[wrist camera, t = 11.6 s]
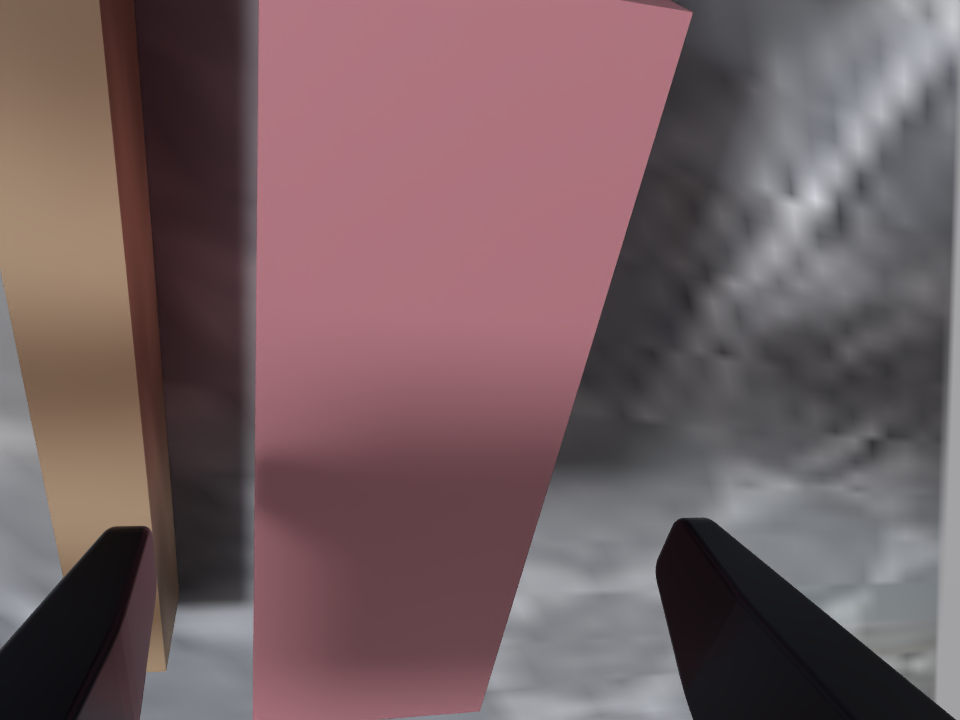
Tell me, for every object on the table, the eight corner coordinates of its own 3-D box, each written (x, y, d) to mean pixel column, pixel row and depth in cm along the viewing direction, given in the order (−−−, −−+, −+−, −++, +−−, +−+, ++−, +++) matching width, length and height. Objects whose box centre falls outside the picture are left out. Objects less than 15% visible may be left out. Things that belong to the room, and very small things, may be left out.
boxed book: (425, 428, 20) (479, 711, 14) (271, 426, 19) (252, 729, 13) (513, -82, 14) (693, 11, 7) (284, -125, 13) (259, -60, 6)
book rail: (179, 593, 22) (166, 671, 20) (104, 596, 22) (83, 675, 20) (123, -133, 12) (86, -122, 10) (-18, -159, 12) (-86, -152, 10)
